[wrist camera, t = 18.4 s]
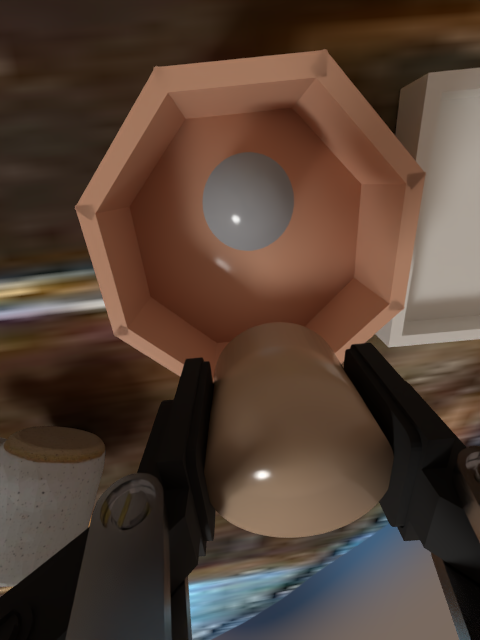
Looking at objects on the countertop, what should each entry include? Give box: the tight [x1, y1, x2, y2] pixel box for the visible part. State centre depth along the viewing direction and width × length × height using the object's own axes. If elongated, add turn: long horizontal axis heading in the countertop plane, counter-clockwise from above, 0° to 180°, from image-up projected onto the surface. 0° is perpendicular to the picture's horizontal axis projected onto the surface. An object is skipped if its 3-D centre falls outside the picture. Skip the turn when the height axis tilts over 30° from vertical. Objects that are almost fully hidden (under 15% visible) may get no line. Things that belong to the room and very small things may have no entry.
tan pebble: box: [204, 322, 394, 538], centre depth 9 cm, size 4×4×4 cm
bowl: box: [75, 48, 426, 381], centre depth 17 cm, size 16×16×6 cm
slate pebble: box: [203, 152, 294, 251], centre depth 16 cm, size 4×4×4 cm
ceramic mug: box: [0, 426, 105, 587], centre depth 21 cm, size 11×8×8 cm
